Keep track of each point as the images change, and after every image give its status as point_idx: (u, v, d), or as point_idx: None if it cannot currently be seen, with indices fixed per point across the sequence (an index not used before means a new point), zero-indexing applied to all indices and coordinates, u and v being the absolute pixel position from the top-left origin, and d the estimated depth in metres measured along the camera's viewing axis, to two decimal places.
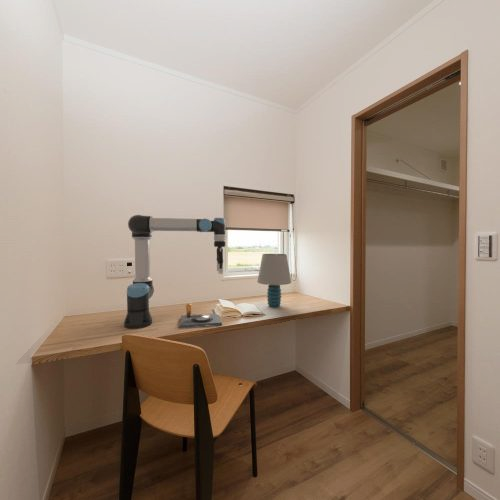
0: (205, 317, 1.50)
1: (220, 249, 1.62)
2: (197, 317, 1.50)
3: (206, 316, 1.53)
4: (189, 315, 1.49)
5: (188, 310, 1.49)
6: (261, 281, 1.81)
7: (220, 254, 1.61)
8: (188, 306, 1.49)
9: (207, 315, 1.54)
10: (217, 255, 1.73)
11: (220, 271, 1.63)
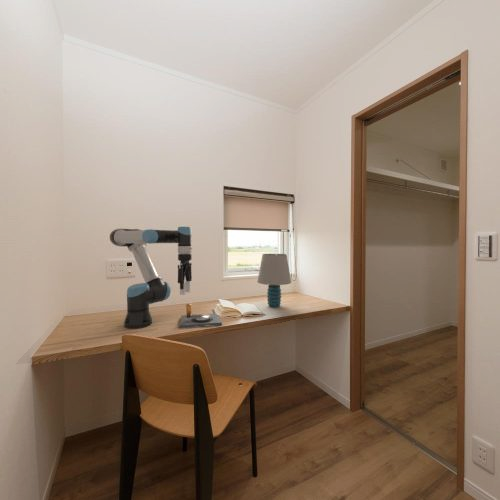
0: (205, 317, 1.50)
1: (179, 266, 1.38)
2: (197, 317, 1.50)
3: (206, 316, 1.53)
4: (189, 315, 1.49)
5: (188, 310, 1.49)
6: (261, 281, 1.81)
7: (179, 272, 1.38)
8: (188, 306, 1.49)
9: (207, 315, 1.54)
10: (184, 271, 1.47)
11: (181, 292, 1.41)
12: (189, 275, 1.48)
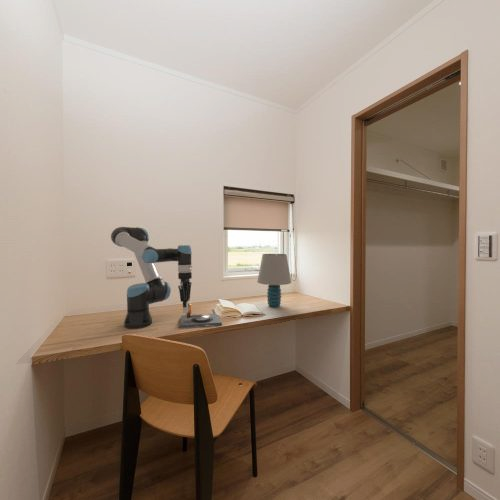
0: (205, 317, 1.50)
1: (180, 287, 1.39)
2: (197, 317, 1.50)
3: (206, 316, 1.53)
4: (189, 315, 1.49)
5: (188, 310, 1.49)
6: (261, 281, 1.81)
7: (181, 292, 1.40)
8: (188, 306, 1.49)
9: (207, 315, 1.54)
10: None
11: (184, 310, 1.45)
12: (188, 294, 1.46)
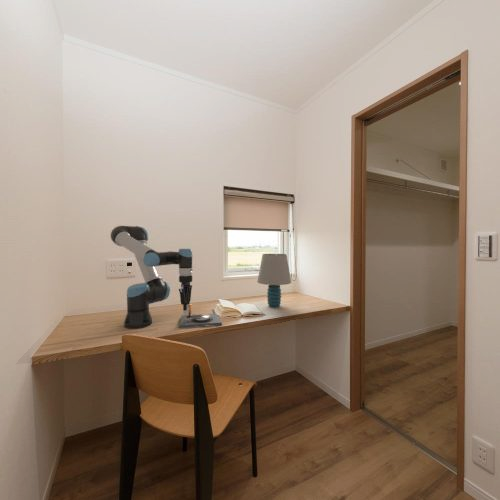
0: (205, 317, 1.50)
1: (181, 290, 1.40)
2: (197, 317, 1.50)
3: (206, 316, 1.53)
4: (189, 315, 1.49)
5: None
6: (261, 281, 1.81)
7: (181, 295, 1.41)
8: None
9: (207, 315, 1.54)
10: None
11: (185, 313, 1.46)
12: (188, 297, 1.47)
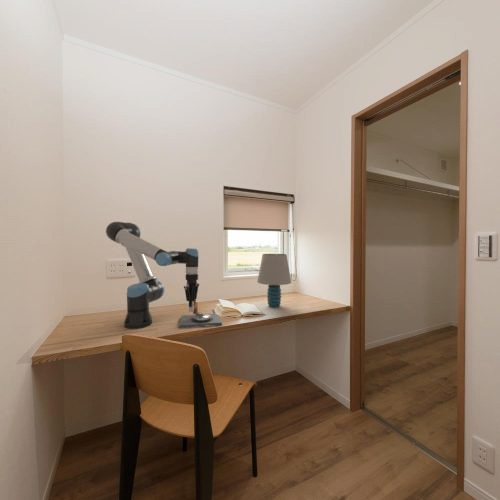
0: (200, 317, 1.49)
1: (185, 288, 1.48)
2: (197, 315, 1.53)
3: (204, 317, 1.50)
4: (194, 311, 1.57)
5: None
6: (261, 281, 1.81)
7: (186, 292, 1.49)
8: None
9: (206, 317, 1.51)
10: None
11: (190, 309, 1.54)
12: (194, 295, 1.55)
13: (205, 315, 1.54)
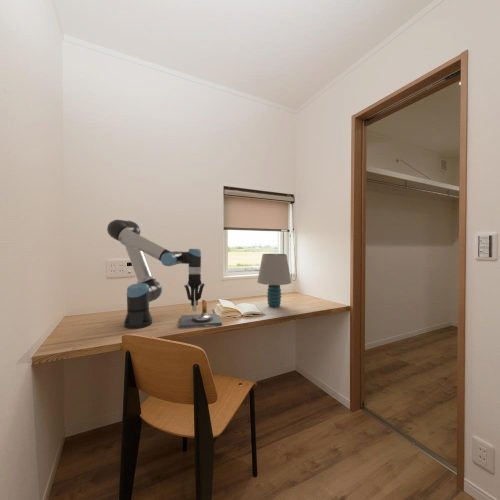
0: (197, 317, 1.50)
1: (185, 287, 1.53)
2: (200, 314, 1.55)
3: (201, 317, 1.50)
4: (202, 310, 1.60)
5: None
6: (261, 281, 1.81)
7: (187, 291, 1.54)
8: None
9: (203, 317, 1.49)
10: (194, 289, 1.58)
11: (193, 308, 1.57)
12: (197, 295, 1.57)
13: (206, 316, 1.52)
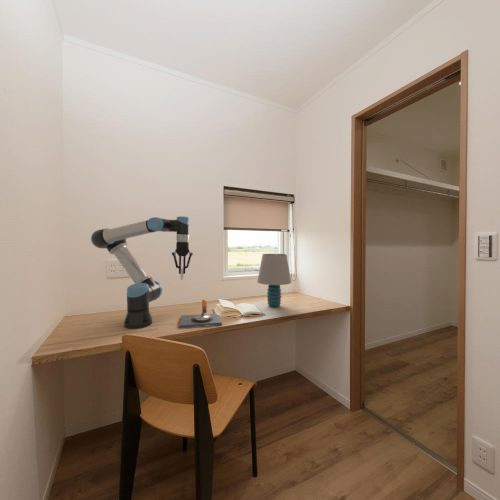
0: (197, 317, 1.50)
1: (172, 254, 1.55)
2: (200, 314, 1.55)
3: (201, 317, 1.50)
4: (202, 310, 1.60)
5: None
6: (261, 281, 1.81)
7: (174, 259, 1.56)
8: None
9: (203, 317, 1.49)
10: None
11: None
12: (184, 263, 1.56)
13: (206, 316, 1.52)
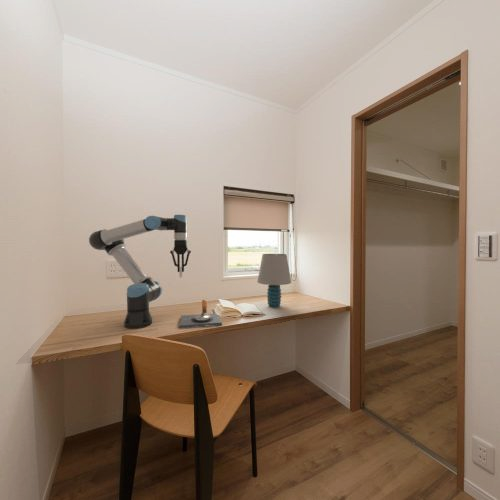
0: (197, 317, 1.50)
1: (170, 252, 1.55)
2: (200, 314, 1.55)
3: (201, 317, 1.50)
4: (202, 310, 1.60)
5: None
6: (261, 281, 1.81)
7: None
8: None
9: (203, 317, 1.49)
10: None
11: None
12: (183, 261, 1.56)
13: (206, 316, 1.52)
